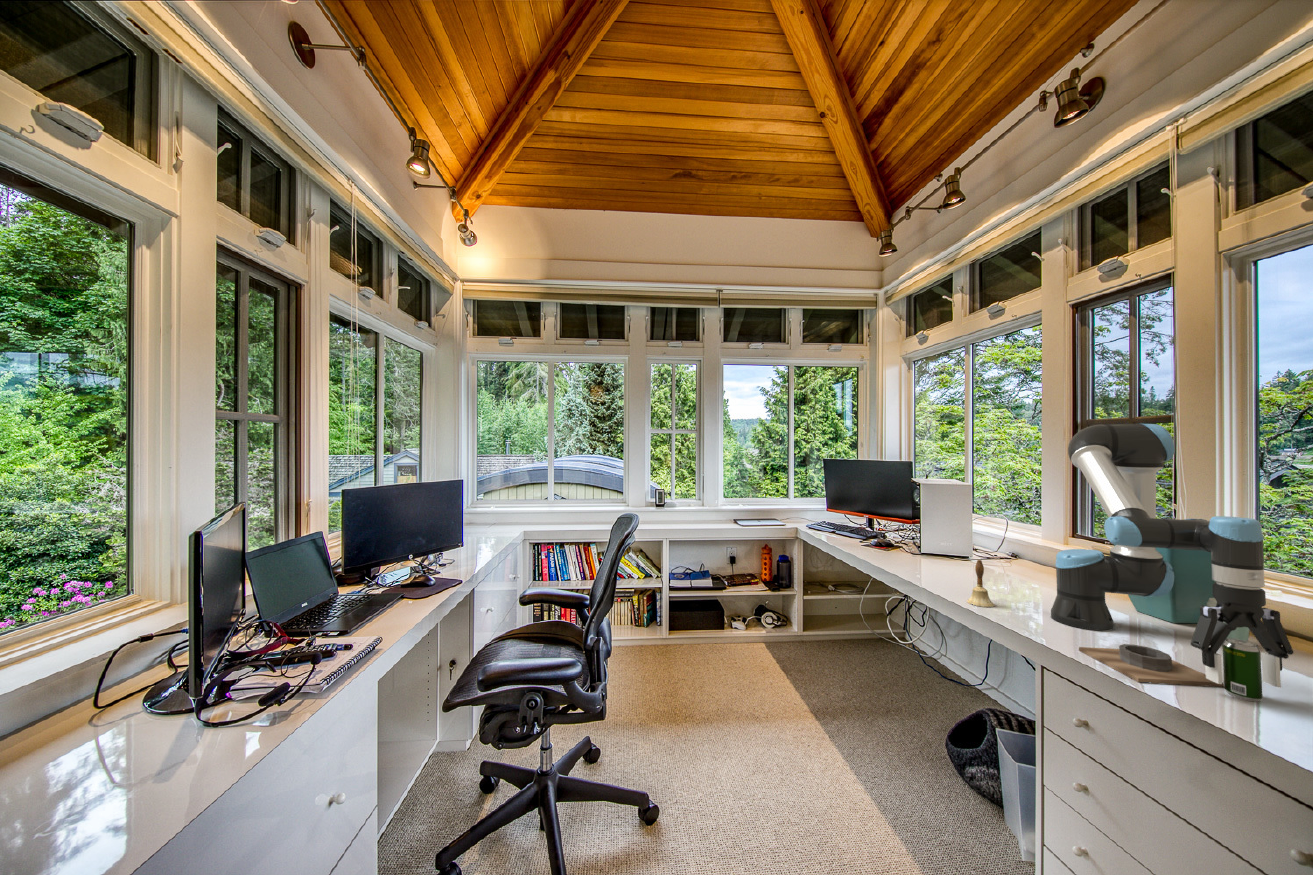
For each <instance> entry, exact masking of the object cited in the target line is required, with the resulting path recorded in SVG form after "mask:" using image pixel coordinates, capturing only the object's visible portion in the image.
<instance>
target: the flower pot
mask: <svg viewBox="0 0 1313 875" xmlns="http://www.w3.org/2000/svg"><path fill="white" fill-rule="evenodd" d="M1114 546H1116V545H1115V544H1113V547H1114ZM1156 550H1157V551H1158V552H1159V553H1160V554H1162V555H1163V560H1166V561H1167V562H1169V564H1170V565H1171V566H1172V571H1173V572H1174V583H1173V587H1172V589H1171V590H1170V592H1169V593H1167V594H1166V595H1164V596H1161V597H1151V596H1148V597H1143V596H1139V595H1128V594H1127V597H1128V598H1129V600H1130V602H1131V604H1132V606H1133V607H1134V609H1135V611H1137V612H1139V613H1142V614H1145V615H1148V616H1151V617H1154V618H1158V619H1161V620H1164V621H1167V622H1169V623H1172V624H1197V623H1198V620H1199V618H1200V606H1202V605H1203V606H1207V605H1206V604H1207V602H1208V600H1209V598H1214V597H1213V586H1212V584H1213V583H1215V582H1216V581H1214V580H1212V563H1211V553H1210V552H1207V551H1200V550H1184V549H1168V548H1156ZM1207 607H1208V606H1207Z"/></svg>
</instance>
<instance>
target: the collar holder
mask: <svg viewBox="0 0 1313 875" xmlns="http://www.w3.org/2000/svg"><path fill="white" fill-rule="evenodd" d="M1078 651H1079V652H1080V653H1082V654H1084V655H1086V656H1088V657H1090V658H1092V659H1094V660H1096V661H1098V662H1099V663H1101V664H1102V665H1103V664H1104V665H1105V666H1107V667H1109V668H1111V669H1112V670H1114V671H1116V672H1117V673H1120V674H1122V675H1124V676H1125V677H1128V678H1130V679H1131V680H1133V681H1135V682H1136V683H1140V682H1151V683H1150V684H1158V683H1167V684H1166V685H1176V684H1180V685H1181V686H1197V687H1213V686H1215V687H1216V688H1217V687H1218V688H1224V681H1222V684H1217V683H1215V682H1213V681H1211V680H1209V679H1206V673H1202V672H1200V671H1199V670H1195V669H1194V668H1192V667H1189V666H1188V665H1184V664H1182V663H1180V662H1177V661H1175V660H1174V659H1173V658H1172V656H1171V655H1170V654H1168V653H1166V652H1165V651H1161V650H1158V649H1156V648H1152V647H1148V646H1145V645H1144V646H1143V645H1138V644H1130V643H1129V644H1128V643H1124V644H1123V643H1122V644H1119V645H1118V648H1110V647H1108V648H1104V647H1084V646H1078ZM1180 685H1179V686H1180ZM1199 685H1200V686H1199Z"/></svg>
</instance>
